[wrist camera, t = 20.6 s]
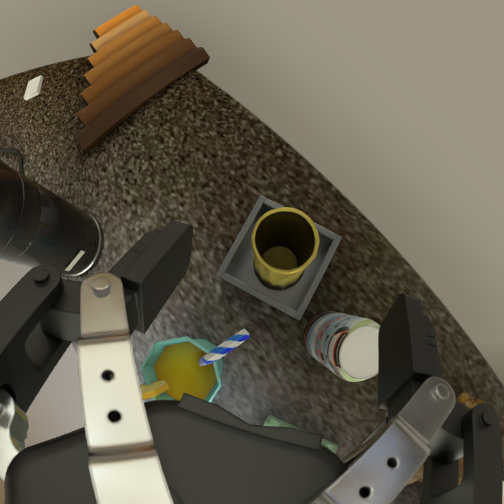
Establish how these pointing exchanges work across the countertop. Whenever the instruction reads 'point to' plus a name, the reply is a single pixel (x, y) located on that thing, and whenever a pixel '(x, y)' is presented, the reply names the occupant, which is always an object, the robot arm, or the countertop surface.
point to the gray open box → (243, 277)
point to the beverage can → (344, 344)
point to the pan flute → (131, 70)
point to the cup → (186, 367)
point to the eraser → (33, 87)
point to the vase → (283, 247)
